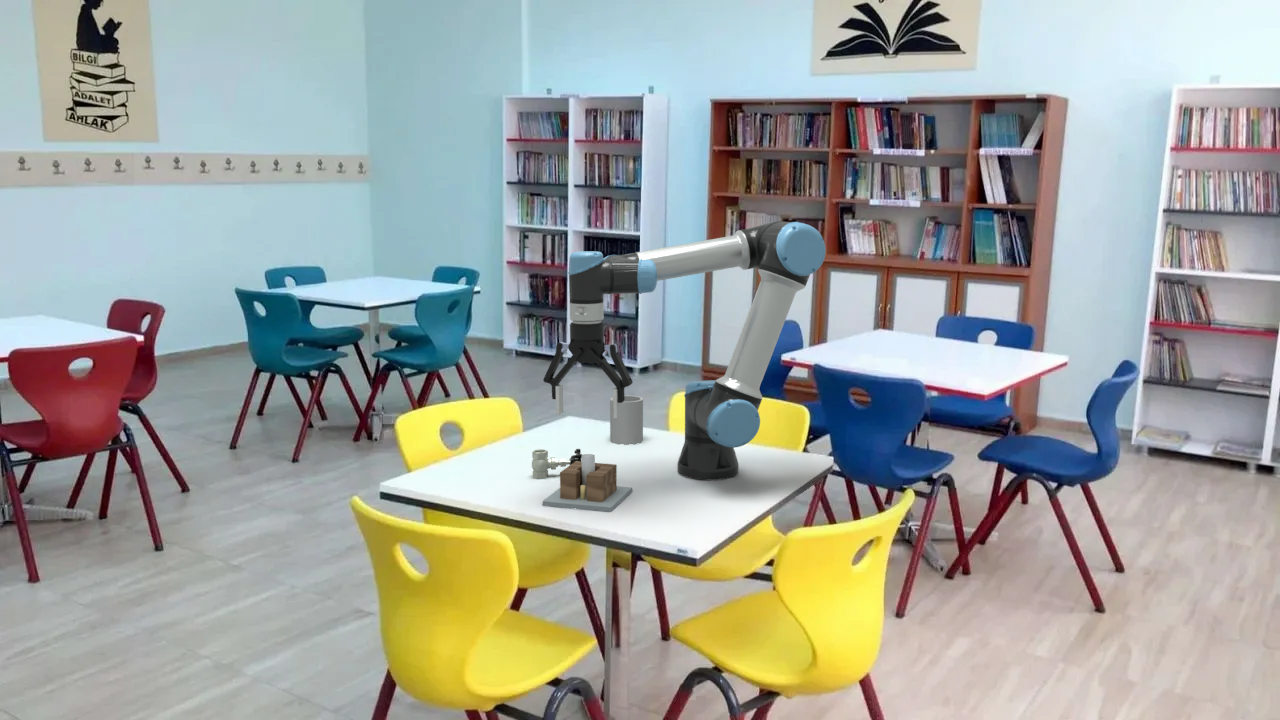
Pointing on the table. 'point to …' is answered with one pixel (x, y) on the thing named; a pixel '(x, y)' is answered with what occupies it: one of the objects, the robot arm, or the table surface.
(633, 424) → the cup
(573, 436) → the table surface
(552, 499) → the post board
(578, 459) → the valve
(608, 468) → the brown u-shaped block
